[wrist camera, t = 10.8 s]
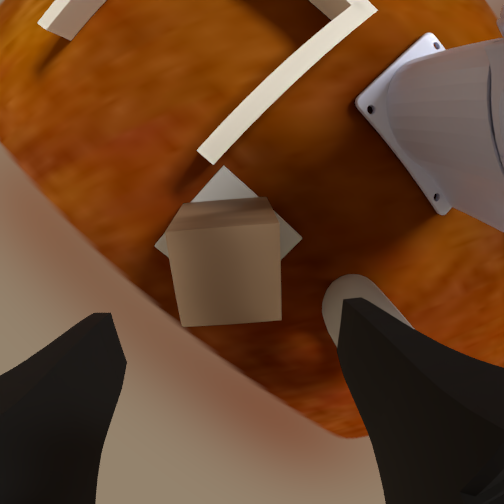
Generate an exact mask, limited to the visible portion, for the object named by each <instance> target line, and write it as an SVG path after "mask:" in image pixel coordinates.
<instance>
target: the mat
mask: <svg viewBox="0 0 504 504" xmlns="http://www.w3.org/2000/svg"><path fill="white" fill-rule="evenodd" d="M254 197H258V196H257V195H256V194H255V193H254V192H253V191H252V190H251V189H250V188H248V187H247V186H246V185H245V184H244V183H243V182H242V181H241V180H240V179H238V178H237V177H236V176H235V175H234V174H233V173H232V172H231V171H229V170H228V169H227V168H226V167H225V166H223V167H222V168H221V169H220V170H219V171H218V172H217V173H216V174H215V175H214V176H213V178H212V179H211V180H210V181H209V182H208V183H207V184H206V185H205V186H204V188H203V189H202V190H201V191H200V192H199V193H198V194H197V195H196V197H195V198H194V199H193V200H192V201H191V202H202V201H214V200H226V199H240V198H254ZM191 202H190V203H191ZM273 211H274V210H273ZM274 213H275V215H276V217H277V219H278V221H279V223H280V257H281V259H282V258H283V257H284V256H285V255H286V254H287V253H288V252H289V251H290V250H291V249H292V248H293V247H294V246H295V245H296V244H297V243H298V242H299V241H300V240H301V239H303V238H302V237H301V235H299V234H298V233H297V232H296V231H295V230H294V229H293V228H292V227H291V226H290V225H289V224H288V223H287V222H286V221H285V220H283V219H282V218H281V217H280V216H279V215H278V214H277V213H276V212H275V211H274ZM155 247H156V248H157V249H158V250H160V251H161V252H162V253H163V254H165V255H166V256H167V257H168V258H169V255H168V249H167V243H166V236H165V233H164V234H163V235H162V237H161V238H160V239H159V240H158V241H157V243H156V244H155Z"/></svg>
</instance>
